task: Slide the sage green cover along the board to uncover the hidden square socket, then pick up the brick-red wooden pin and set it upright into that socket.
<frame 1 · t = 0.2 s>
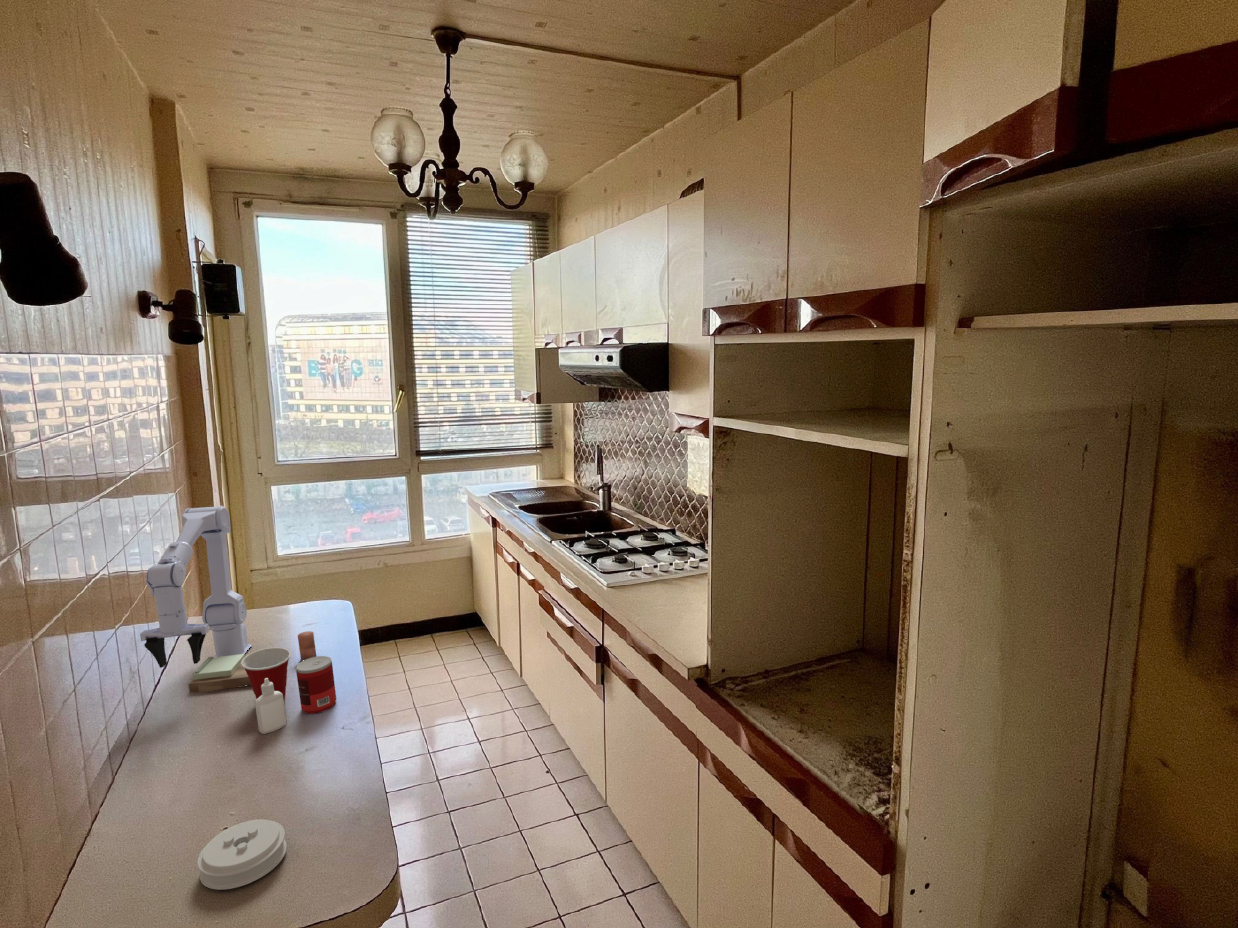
hand: (180, 663, 170), 10 cm above the table, tool pointing down, fingers open, 7 cm apart
eye dropper bottle: (273, 728, 156), on the table
lid: (245, 866, 114), on the table
board: (238, 676, 183), on the table
plastic cup: (272, 703, 168), on the table
canned food: (319, 706, 165), on the table
cover: (219, 665, 182), point 4 cm above the table, slide at 0.0 cm
pin: (308, 657, 193), on the table
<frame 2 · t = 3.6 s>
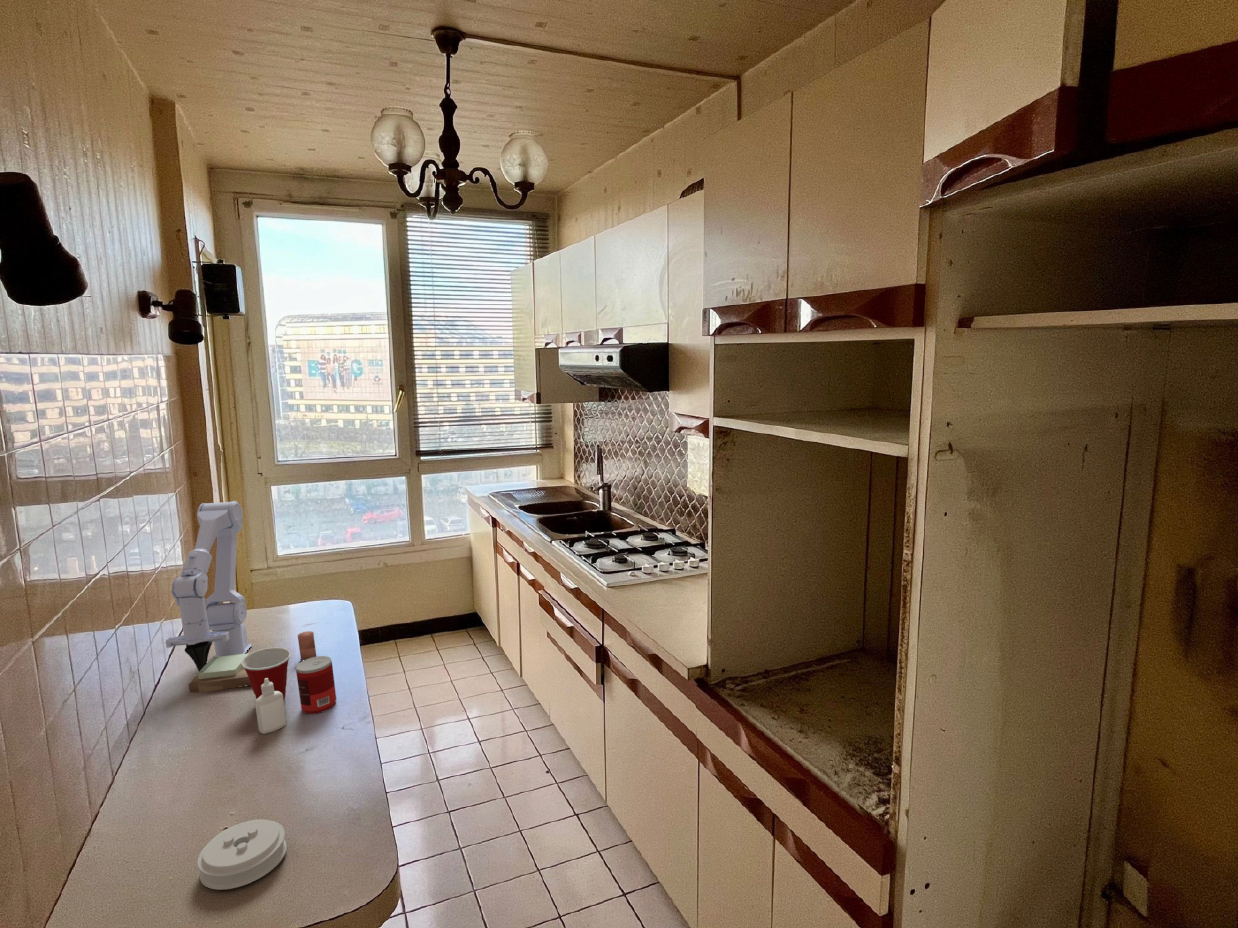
hand: (202, 669, 182), 3 cm above the table, tool pointing down, fingers closed
cover: (224, 665, 182), point 4 cm above the table, slide at 1.1 cm, touching gripper
everything else where it was.
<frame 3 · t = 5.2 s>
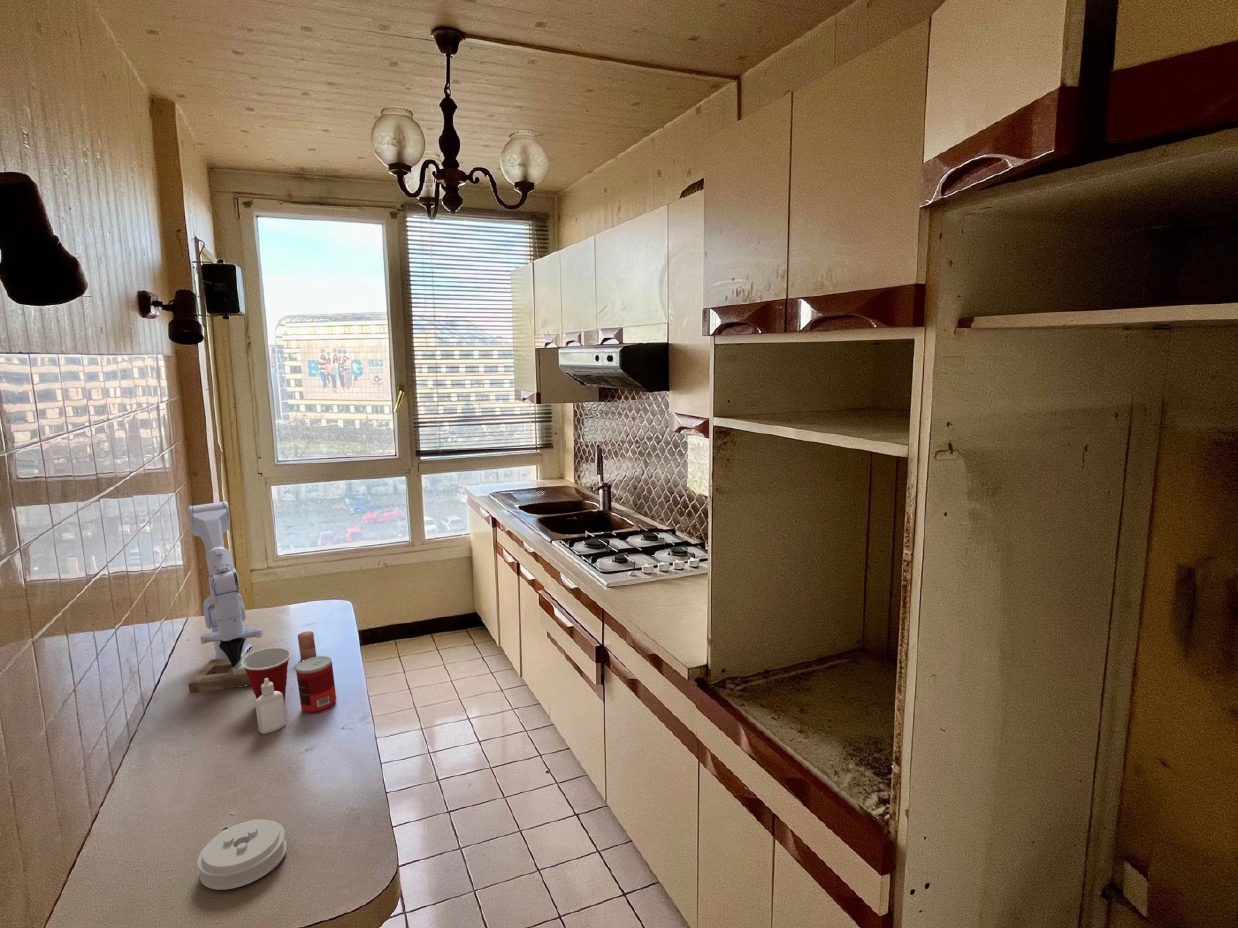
hand: (236, 665, 183), 3 cm above the table, tool pointing down, fingers closed
cover: (258, 661, 184), point 4 cm above the table, slide at 9.4 cm, touching gripper
everything else where it was.
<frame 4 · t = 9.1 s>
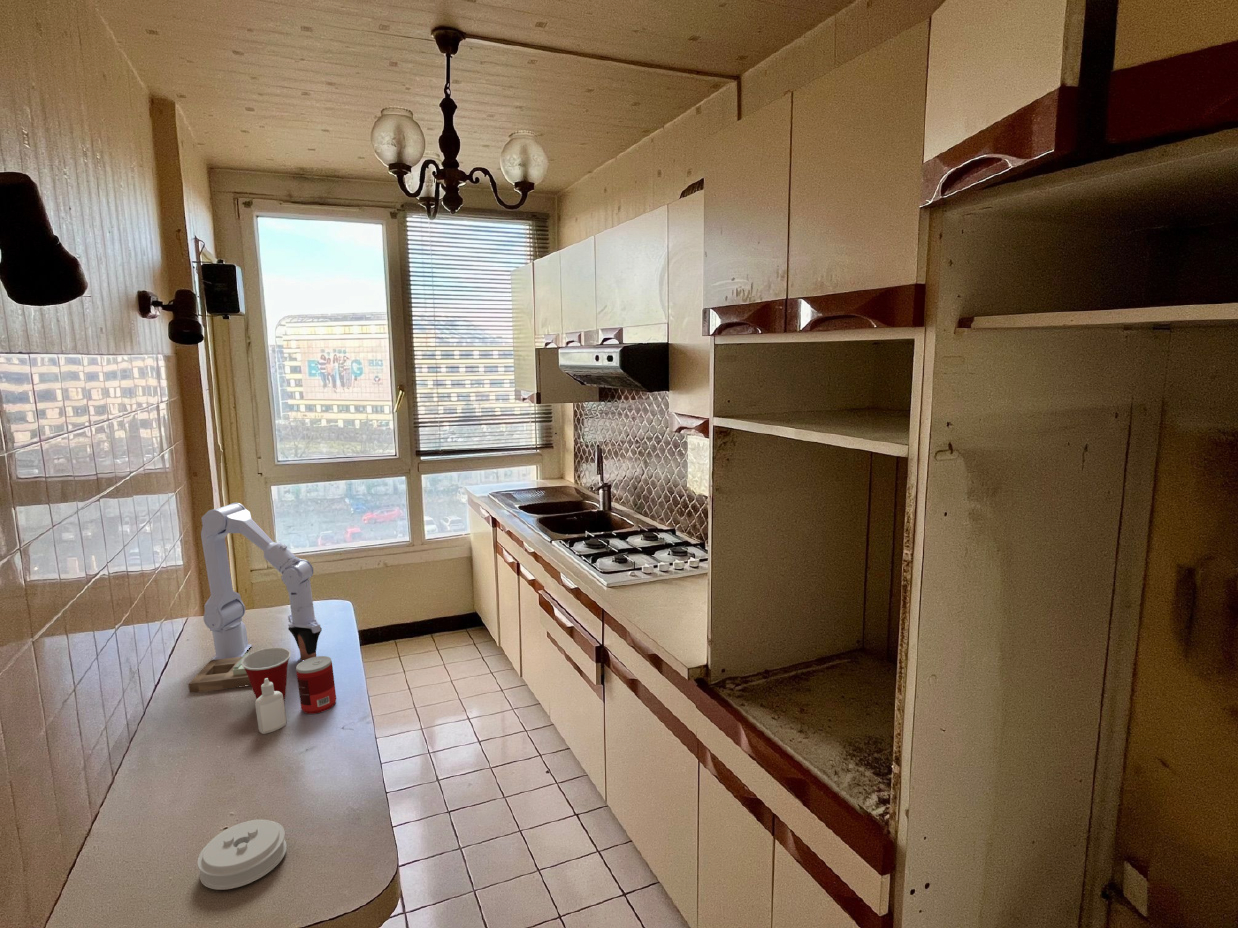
hand: (307, 651, 193), 2 cm above the table, tool pointing down, fingers closed on pin, 4 cm apart
cover: (258, 661, 184), point 4 cm above the table, slide at 9.4 cm
pin: (308, 657, 193), on the table, touching gripper
everything else where it was.
when the fingers open (3 cm above the table, at t = 13.6 s): pin drops 1 cm, resting in board.
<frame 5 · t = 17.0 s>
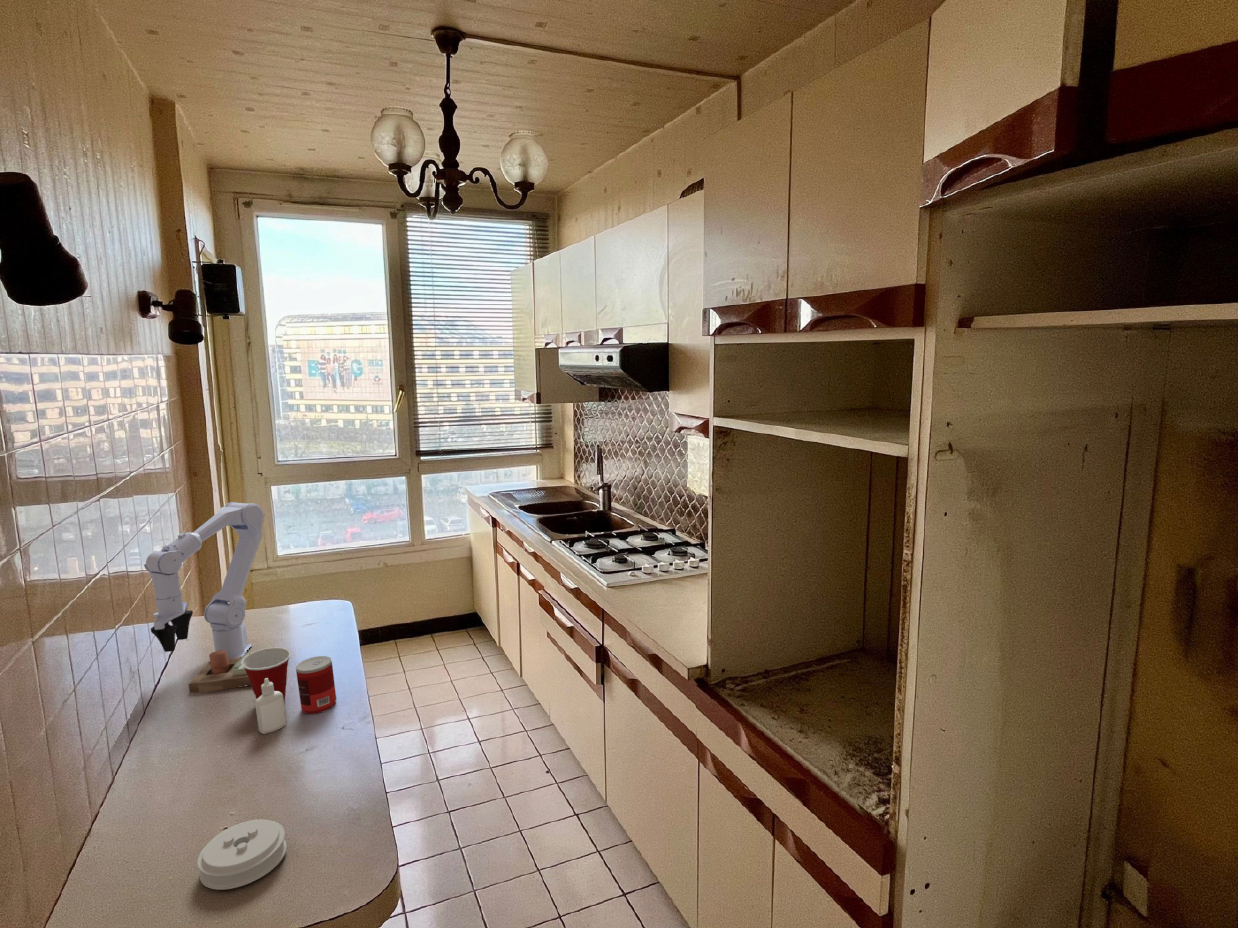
hand: (176, 644, 182), 9 cm above the table, tool pointing down, fingers open, 7 cm apart
pin: (222, 677, 183), resting in board
everything else where it was.
at the end: cover slide at 9.4 cm; pin 0.1 cm from the target spot on the board, point 0.0 cm above the board's base; pin tilted 1° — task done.
